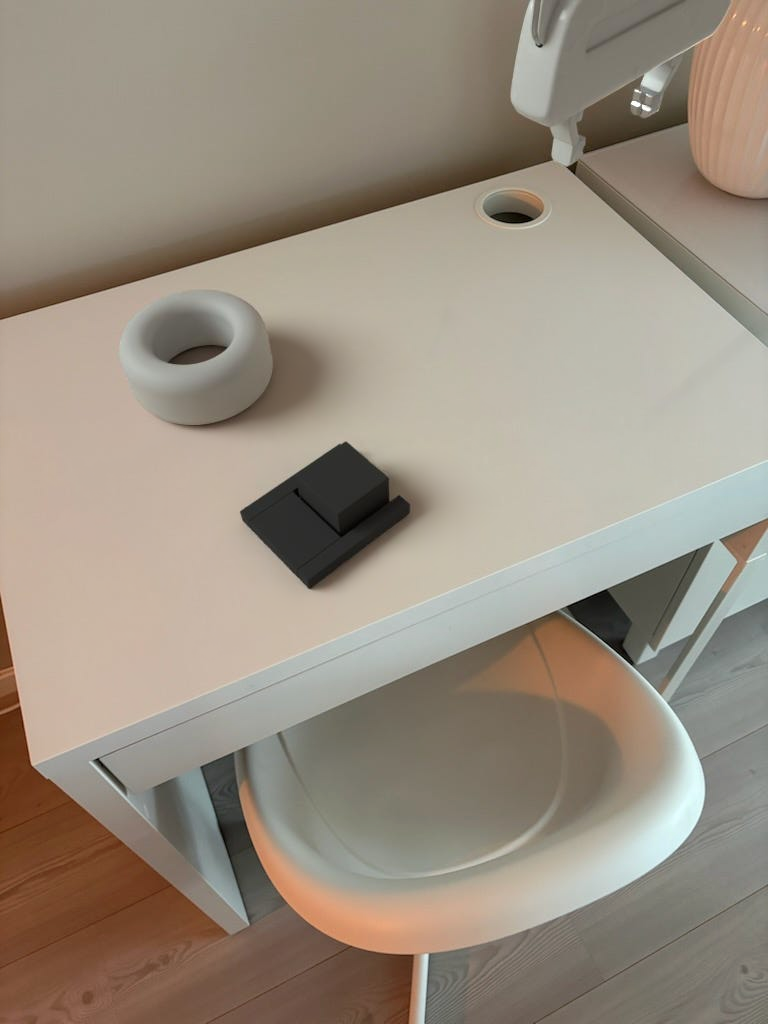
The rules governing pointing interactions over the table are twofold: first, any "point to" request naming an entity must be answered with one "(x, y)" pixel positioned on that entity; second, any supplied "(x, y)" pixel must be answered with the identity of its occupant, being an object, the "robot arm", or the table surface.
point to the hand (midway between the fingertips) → (605, 136)
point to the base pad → (312, 531)
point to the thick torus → (204, 385)
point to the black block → (343, 488)
